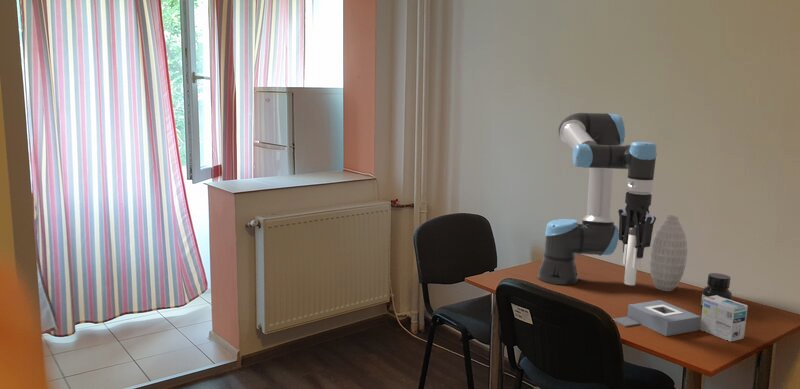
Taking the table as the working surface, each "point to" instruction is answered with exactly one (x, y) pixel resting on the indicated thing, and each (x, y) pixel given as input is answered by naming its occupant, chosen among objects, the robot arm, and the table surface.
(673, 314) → the panel
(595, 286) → the table surface
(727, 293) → the ink bottle
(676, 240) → the vase
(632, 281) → the stylus
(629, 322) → the pad
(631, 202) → the robot arm
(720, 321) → the light bulb box
